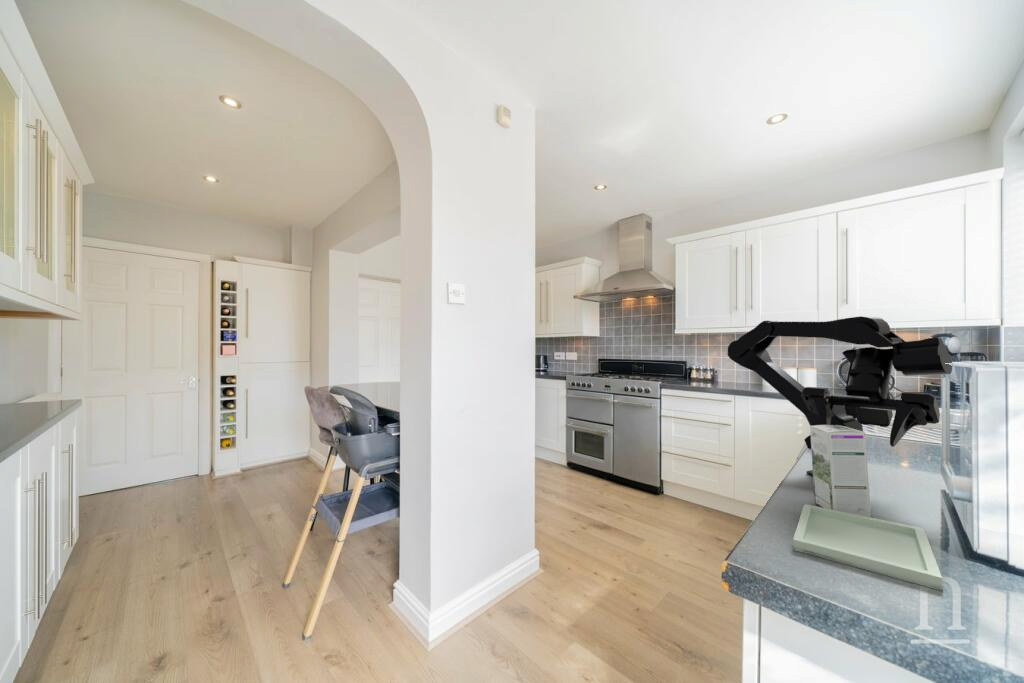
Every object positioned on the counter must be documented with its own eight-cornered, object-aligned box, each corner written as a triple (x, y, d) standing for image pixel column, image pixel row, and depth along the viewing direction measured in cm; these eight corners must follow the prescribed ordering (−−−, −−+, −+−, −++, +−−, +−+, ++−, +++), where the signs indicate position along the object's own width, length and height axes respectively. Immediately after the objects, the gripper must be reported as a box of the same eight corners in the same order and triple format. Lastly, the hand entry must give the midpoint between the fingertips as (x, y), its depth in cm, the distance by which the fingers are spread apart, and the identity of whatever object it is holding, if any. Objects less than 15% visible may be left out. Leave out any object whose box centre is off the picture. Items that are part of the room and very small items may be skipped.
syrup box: (873, 519, 62) (868, 431, 62) (832, 516, 63) (827, 430, 63) (849, 505, 67) (845, 424, 68) (812, 503, 69) (808, 424, 69)
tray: (804, 512, 65) (804, 503, 65) (924, 538, 55) (923, 528, 55) (793, 549, 53) (793, 539, 53) (943, 591, 43) (942, 577, 43)
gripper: (947, 402, 70) (941, 476, 64) (824, 394, 86) (809, 453, 80) (937, 365, 66) (928, 440, 60) (808, 363, 81) (791, 423, 75)
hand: (857, 440), depth 69 cm, fingers open, 9 cm apart
